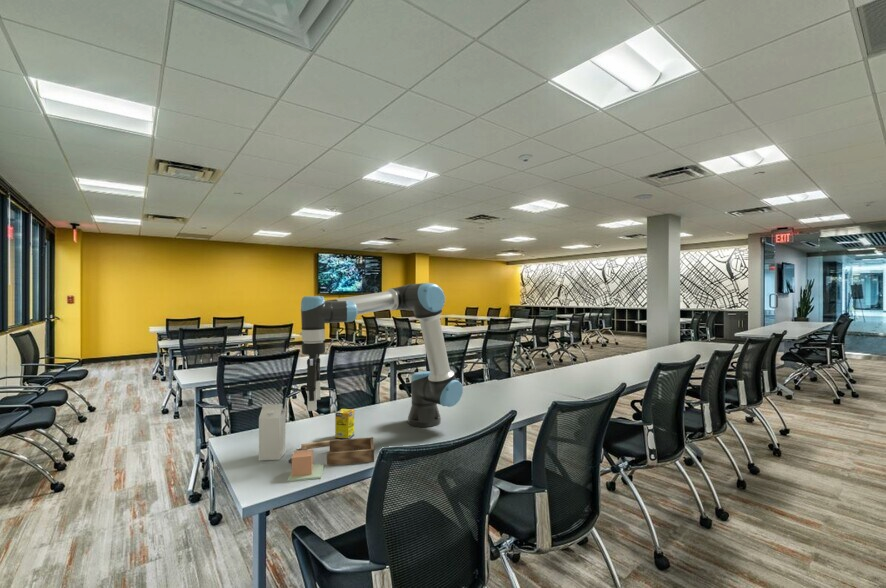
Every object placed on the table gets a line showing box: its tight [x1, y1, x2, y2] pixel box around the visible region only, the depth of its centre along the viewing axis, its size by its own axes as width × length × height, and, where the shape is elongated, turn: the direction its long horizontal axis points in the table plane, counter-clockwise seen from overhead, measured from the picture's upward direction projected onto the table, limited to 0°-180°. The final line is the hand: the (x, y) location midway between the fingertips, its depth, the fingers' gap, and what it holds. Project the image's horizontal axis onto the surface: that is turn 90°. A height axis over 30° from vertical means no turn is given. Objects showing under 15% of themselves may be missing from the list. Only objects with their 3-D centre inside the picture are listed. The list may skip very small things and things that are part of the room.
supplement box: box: [334, 408, 355, 440], centre depth 166 cm, size 6×6×11 cm
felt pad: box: [287, 463, 325, 482], centre depth 133 cm, size 10×10×1 cm
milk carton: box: [258, 403, 286, 461], centre depth 147 cm, size 7×7×19 cm
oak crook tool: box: [300, 439, 339, 450], centre depth 155 cm, size 14×6×2 cm, turn 112°
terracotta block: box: [291, 448, 314, 477], centre depth 132 cm, size 6×6×6 cm
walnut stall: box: [326, 436, 375, 466], centre depth 147 cm, size 16×13×4 cm
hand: (314, 404), depth 136 cm, fingers open, 13 cm apart
